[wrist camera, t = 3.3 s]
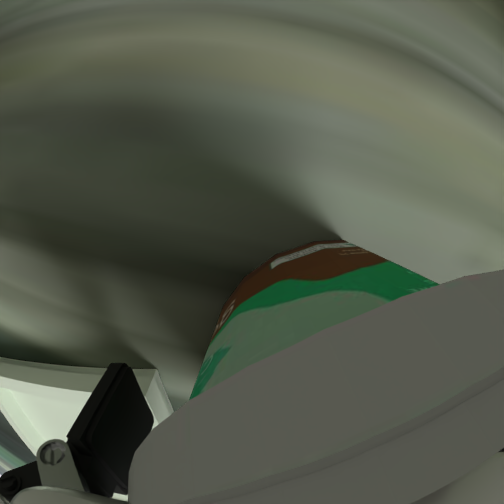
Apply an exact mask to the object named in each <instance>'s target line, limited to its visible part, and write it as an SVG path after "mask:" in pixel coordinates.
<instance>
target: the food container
mask: <svg viewBox="0 0 504 504" xmlns="http://www.w3.org/2000/svg"><path fill="white" fill-rule="evenodd" d="M503 448H504V270H499V271H494V272H488V273H482V274H475V275H469V276H464V277H461V278H458V279H455V280H452V281H449V282H446V283H443V284H438V283H436V282H434V281H431V280H429V279H427V278H425V277H423V276H421V275H419V274H417V273H415V272H413V271H411V270H408V269H406V268H404V267H402V266H400V265H398V264H396V263H394V262H391V261H389V260H387V259H385V258H383V257H380V256H378V255H376V254H374V253H372V252H369V251H367V250H365V249H363V248H360V247H358V246H356V245H354V244H351V243H349V242H347V241H344V240H330V241H314V242H311V243H308V244H305V245H302V246H299V247H296V248H294V249H291V250H288V251H285V252H282V253H279V254H276V255H275V256H273V257H272V258H270V259H269V260H268V261H266V262H265V263H263V264H262V265H261V266H259V267H258V268H257V269H255V270H254V271H252V272H251V273H250V274H248V275H247V276H245V277H244V278H243V280H242V281H241V282H240V284H239V285H238V286H237V288H236V289H235V291H234V292H233V293H232V295H231V296H230V297H229V299H228V300H227V302H226V303H225V304H224V306H223V308H222V311H221V314H220V317H219V319H218V322H217V325H216V327H215V330H214V333H213V336H212V338H211V341H210V344H209V347H208V349H207V352H206V355H205V358H204V360H203V363H202V366H201V369H200V371H199V374H198V377H197V380H196V383H195V385H194V388H193V391H192V394H191V396H190V399H189V401H188V402H186V403H185V404H184V405H183V406H181V407H180V408H179V409H178V410H176V411H175V412H174V413H173V414H171V415H170V416H169V417H167V418H166V419H165V420H164V421H162V422H161V423H160V424H158V425H157V426H156V427H154V428H153V429H152V431H151V432H150V433H149V435H148V436H147V437H146V438H145V440H144V441H143V442H142V444H141V445H140V446H139V447H138V449H137V450H136V451H135V453H134V457H133V460H132V463H131V466H130V470H129V479H128V502H129V504H410V503H413V502H415V501H417V500H419V499H421V498H423V497H425V496H427V495H429V494H431V493H433V492H435V491H437V490H439V489H441V488H442V487H444V486H446V485H448V484H450V483H451V482H453V481H455V480H456V479H458V478H460V477H461V476H463V475H465V474H466V473H468V472H469V471H471V470H473V469H474V468H476V467H477V466H479V465H480V464H482V463H483V462H484V461H486V460H487V459H489V458H490V457H491V456H493V455H494V454H496V453H497V452H498V451H500V450H501V449H503Z"/></svg>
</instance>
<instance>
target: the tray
mask: <svg viewBox="0 0 504 504" xmlns="http://www.w3.org/2000/svg"><path fill="white" fill-rule="evenodd" d="M106 370H107V368H93V367H77V366H65V365H55V364H45V363H37V362H29V361H22V360H15V359H9V358H3V357H0V410H1V411H2V413H3V414H4V416H5V417H6V419H7V420H8V422H9V423H10V424H11V426H12V427H13V428H14V430H15V431H16V432H17V434H18V435H19V436H20V438H21V439H22V440H23V441H24V443H25V444H26V445H27V446H28V448H29V449H30V450H31V451H32V452H33V453H34V455H35V456H36V454H37V451H38V449H39V447H40V446H41V445H42V444H43V443H44V442H46V441H48V440H52V439H60V440H63V441H64V442H67V440H68V438H67V437H66V436H67V434H68V432H69V431H70V429H71V427H72V425H73V424H74V422H75V420H76V419H77V417H78V415H79V414H80V412H81V410H82V408H83V407H84V405H85V404H86V402H87V400H88V399H89V397H90V395H91V394H92V392H93V390H94V389H95V387H96V386H97V384H98V382H99V381H100V379H101V378H102V376H103V375H104V373H105V371H106ZM132 370H133V372H134V375H135V377H136V379H137V382H138V384H139V386H140V388H141V391H142V393H143V395H144V397H145V399H146V401H147V404H148V406H149V408H150V410H151V412H152V414H153V417H154V424H153V427H152V429H153V428H154V427H156V426H157V425H158V424H160V423H161V422H162V421H164V420H165V419H166V418H167V417H169V416H170V415H171V414H173V413H174V410H173V408H172V406H171V403H170V401H169V399H168V396H167V394H166V391H165V389H164V386H163V384H162V381H161V379H160V376H159V373H158V371H157V369H132ZM151 431H152V430H151ZM113 499H118V500H123V501H128V495H122V494H117V493H114V494H113Z"/></svg>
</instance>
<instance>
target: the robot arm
mask: <svg viewBox="0 0 504 504" xmlns="http://www.w3.org/2000/svg"><path fill="white" fill-rule="evenodd" d="M153 424H154V417H153V414H152V412H151V410H150V408H149V406H148V404H147V401H146V399H145V397H144V395H143V393H142V391H141V388H140V386H139V384H138V382H137V379H136V377H135V375H134V372H133V370H132V368H131V367H128V365H127V364H125V363H111V364H110V365H109V367H108V368H107V370H106V371H105V373H104V375H103V376H102V378H101V379H100V381H99V382H98V384H97V386H96V387H95V389H94V390H93V392H92V394H91V395H90V397H89V399H88V400H87V402H86V404H85V405H84V407H83V408H82V410H81V412H80V414H79V415H78V417H77V419H76V420H75V422H74V424H73V425H72V427H71V429H70V431H69V432H68V434H67V436H66V437H67V438H68V440H67V442H64V441H63V440H60V439H52V440H48V441H46V442H44V443H43V444H42V445H41V446H40V447H39V449H38V451H37V454H36V460H37V461H34V462H32V463H29V464H26V465H24V466H21V467H18V468H15V469H13V470H10V471H7V472H5V473H4V474H3V475H2V476H1V477H0V504H129V502H128V501H123V500H118V499H113V494H114V493H117V494H122V495H128V479H129V470H130V466H131V463H132V460H133V457H134V453H135V451H136V450H137V449H138V447H139V446H140V445H141V444H142V442H143V441H144V440H145V438H146V437H147V436H148V435H149V433H150V432H151V430H152V427H153ZM410 504H504V448H503V449H501V450H500V451H498V452H497V453H496V454H494V455H493V456H491V457H490V458H489V459H487V460H486V461H484V462H483V463H482V464H480V465H479V466H477V467H476V468H474V469H473V470H471V471H469V472H468V473H466V474H465V475H463V476H461V477H460V478H458V479H456V480H455V481H453V482H451V483H450V484H448V485H446V486H444V487H442V488H441V489H439V490H437V491H435V492H433V493H431V494H429V495H427V496H425V497H423V498H421V499H419V500H417V501H415V502H413V503H410Z"/></svg>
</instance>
